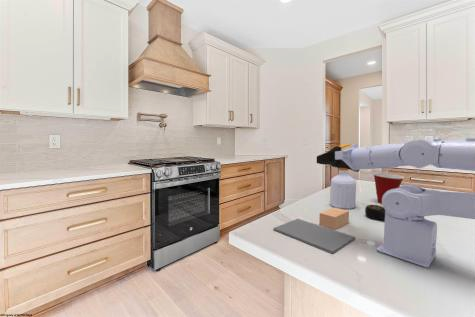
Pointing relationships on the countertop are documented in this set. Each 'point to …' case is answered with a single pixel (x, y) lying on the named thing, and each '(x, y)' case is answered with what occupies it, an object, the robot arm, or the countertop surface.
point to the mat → (315, 235)
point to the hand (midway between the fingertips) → (324, 161)
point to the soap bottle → (343, 189)
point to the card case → (334, 218)
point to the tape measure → (375, 211)
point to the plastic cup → (386, 183)
